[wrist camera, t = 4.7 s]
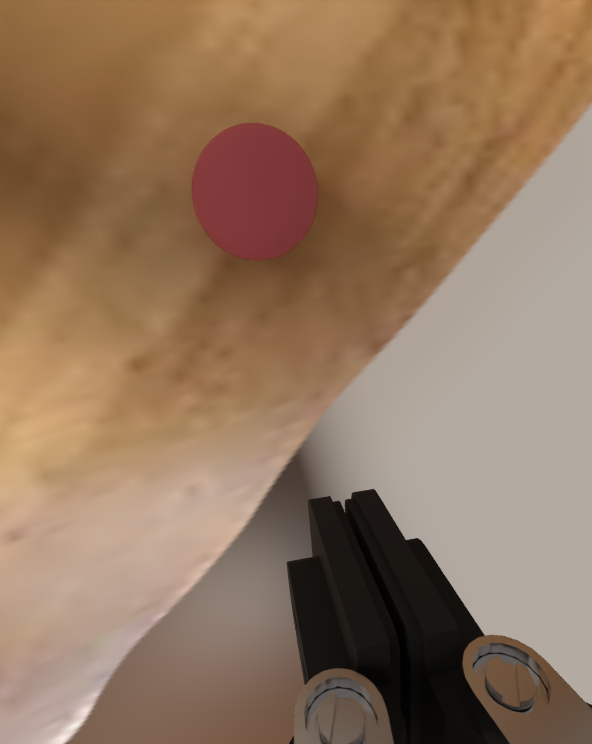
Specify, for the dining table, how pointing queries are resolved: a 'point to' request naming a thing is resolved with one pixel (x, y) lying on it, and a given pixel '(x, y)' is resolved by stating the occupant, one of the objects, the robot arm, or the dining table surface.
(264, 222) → the ball
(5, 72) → the dining table surface
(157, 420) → the dining table surface
